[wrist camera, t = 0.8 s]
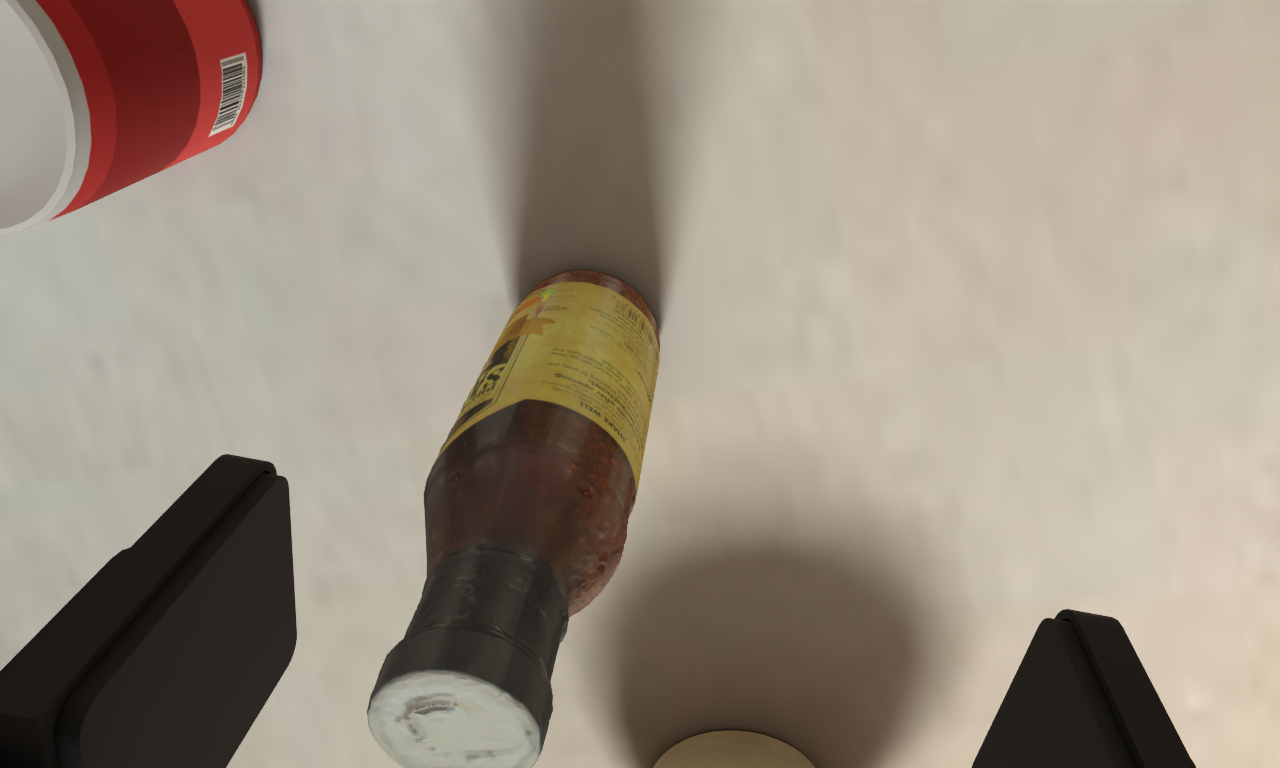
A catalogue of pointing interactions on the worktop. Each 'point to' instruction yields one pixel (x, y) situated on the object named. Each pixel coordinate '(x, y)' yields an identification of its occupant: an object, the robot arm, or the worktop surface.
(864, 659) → the worktop surface
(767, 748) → the planter bowl
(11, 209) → the canned food
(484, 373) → the sauce bottle
